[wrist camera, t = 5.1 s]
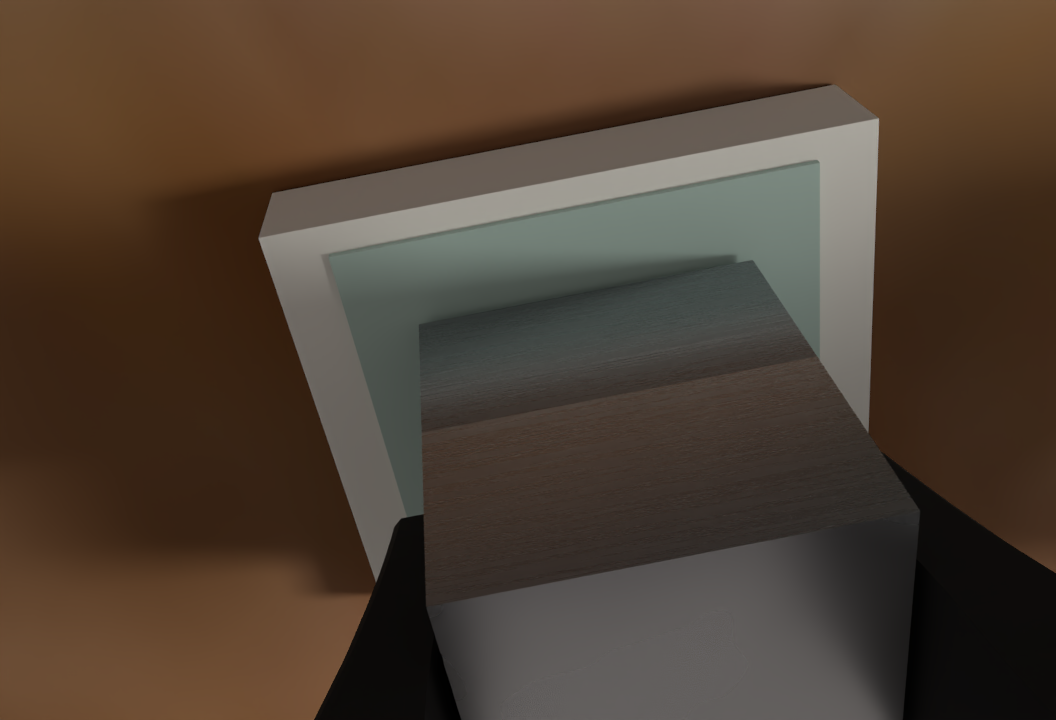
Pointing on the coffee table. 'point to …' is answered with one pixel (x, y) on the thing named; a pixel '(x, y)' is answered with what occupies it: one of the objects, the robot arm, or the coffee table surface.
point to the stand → (566, 255)
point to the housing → (658, 513)
